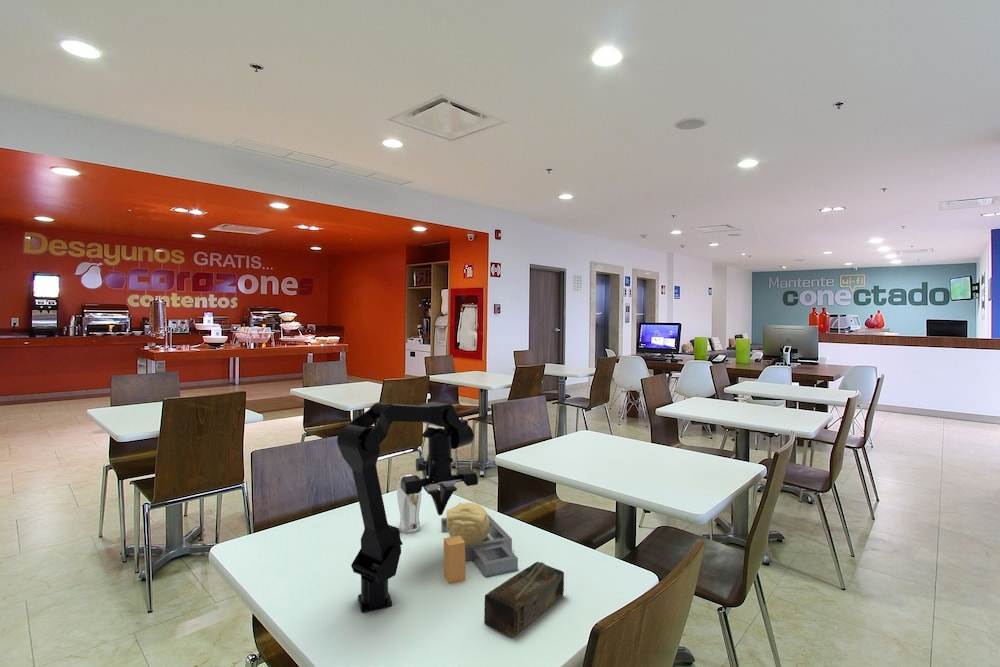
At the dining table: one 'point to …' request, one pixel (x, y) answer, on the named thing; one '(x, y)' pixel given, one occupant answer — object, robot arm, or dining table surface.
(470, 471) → the robot arm
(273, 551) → the dining table surface
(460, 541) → the orange rectangular block
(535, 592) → the beverage carton
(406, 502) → the beer glass
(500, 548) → the grey flat openwork piece
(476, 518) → the sculpture
